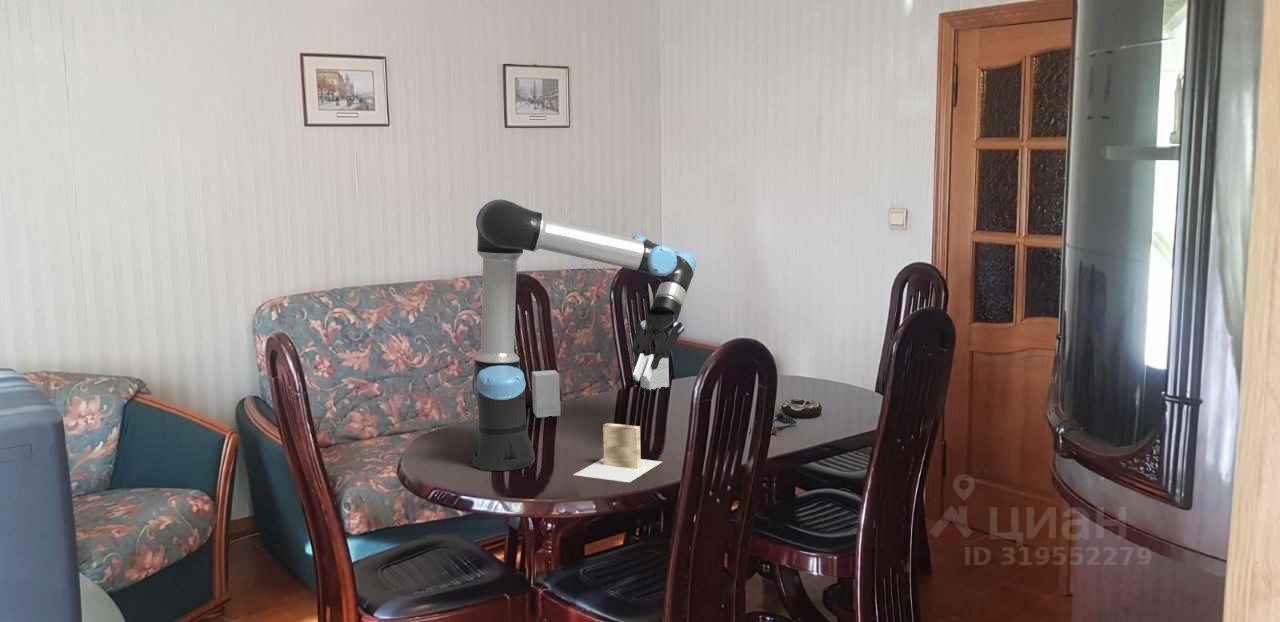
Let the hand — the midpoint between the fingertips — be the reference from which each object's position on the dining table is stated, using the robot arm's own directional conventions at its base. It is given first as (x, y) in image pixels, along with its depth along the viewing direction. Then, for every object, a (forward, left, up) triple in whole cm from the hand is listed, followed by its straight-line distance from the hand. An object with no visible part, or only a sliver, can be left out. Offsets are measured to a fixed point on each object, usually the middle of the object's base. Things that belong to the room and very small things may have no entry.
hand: (641, 378), depth 255 cm
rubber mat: (0, -13, -20) cm, 24 cm away
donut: (+23, +57, -21) cm, 65 cm away
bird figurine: (+21, +35, -20) cm, 45 cm away
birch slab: (0, -11, -20) cm, 22 cm away
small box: (-33, +76, -20) cm, 85 cm away
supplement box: (-47, +30, -20) cm, 59 cm away
